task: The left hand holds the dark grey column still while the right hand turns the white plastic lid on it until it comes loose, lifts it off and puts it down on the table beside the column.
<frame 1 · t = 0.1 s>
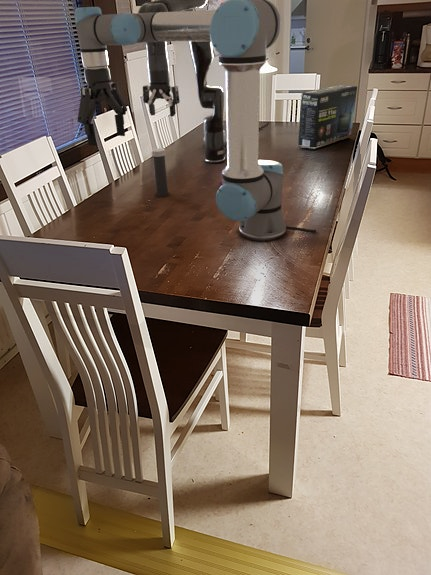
left hand: (162, 115, 174), 29 cm above the table, tool pointing down, fingers open, 8 cm apart
right hand: (107, 140, 148), 28 cm above the table, tool pointing down, fingers open, 13 cm apart
dark grey column: (162, 194, 185), on the table
fossil: (219, 142, 254), on the table
handgun: (235, 188, 187), on the table
router box: (325, 143, 245), on the table
lid: (158, 150, 176), point 17 cm above the table, screwed on, not yet turned
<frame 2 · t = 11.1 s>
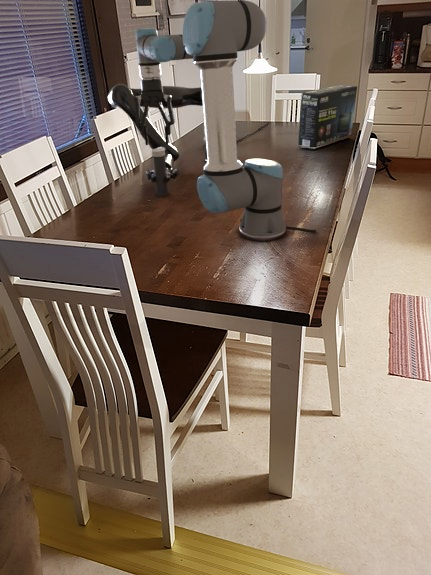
left hand: (160, 180, 179), 7 cm above the table, tool horizontal, fingers closed on dark grey column, 4 cm apart
right hand: (157, 144, 174), 20 cm above the table, tool pointing down, fingers open, 7 cm apart
dark grey column: (162, 194, 185), on the table, touching left hand
everything else where it was.
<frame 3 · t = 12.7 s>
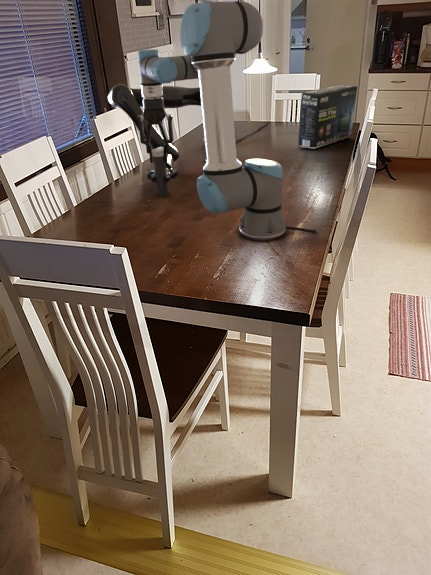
left hand: (160, 180, 179), 7 cm above the table, tool horizontal, fingers closed on dark grey column, 4 cm apart
right hand: (159, 161, 178), 13 cm above the table, tool pointing down, fingers closed on lid, 5 cm apart
dark grey column: (162, 194, 185), on the table, touching left hand
lid: (158, 150, 176), point 17 cm above the table, screwed on, not yet turned, touching right hand
everything else where it was.
when the right hand's fingers open (14 cm above the table, at t = 13.9 s): lid stays where it is, point 18 cm above the table.
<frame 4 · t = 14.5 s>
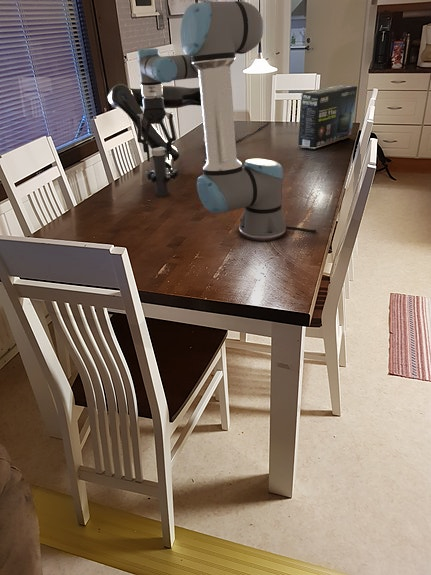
left hand: (160, 180, 179), 7 cm above the table, tool horizontal, fingers closed on dark grey column, 4 cm apart
right hand: (159, 160, 177), 14 cm above the table, tool pointing down, fingers open, 7 cm apart
dark grey column: (162, 194, 185), on the table, touching left hand
lid: (158, 150, 175), point 18 cm above the table, turned 74° so far, risen 0.3 cm, still on its thread
everything else where it was.
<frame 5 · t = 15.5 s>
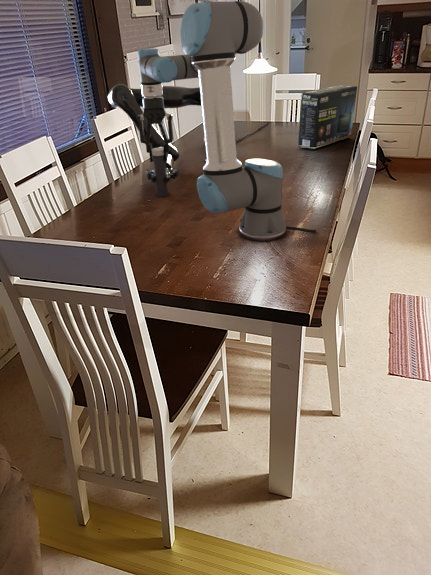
left hand: (160, 180, 179), 7 cm above the table, tool horizontal, fingers closed on dark grey column, 4 cm apart
right hand: (159, 160, 178), 14 cm above the table, tool pointing down, fingers closed on lid, 5 cm apart
dark grey column: (162, 194, 185), on the table, touching left hand
lid: (158, 150, 175), point 18 cm above the table, turned 74° so far, risen 0.3 cm, still on its thread, touching right hand
everything else where it was.
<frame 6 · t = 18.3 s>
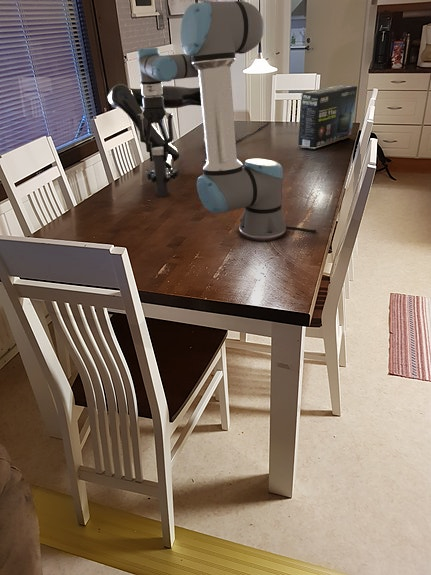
left hand: (160, 180, 179), 7 cm above the table, tool horizontal, fingers closed on dark grey column, 4 cm apart
right hand: (159, 160, 177), 14 cm above the table, tool pointing down, fingers closed on lid, 5 cm apart
dark grey column: (162, 194, 185), on the table, touching left hand
lid: (157, 149, 175), point 18 cm above the table, turned 148° so far, risen 0.5 cm, still on its thread, touching right hand
everything else where it was.
when the right hand's fingers open (0 cm above the table, at t = 25.1 s): lid drops 3 cm, point 2 cm above the table.
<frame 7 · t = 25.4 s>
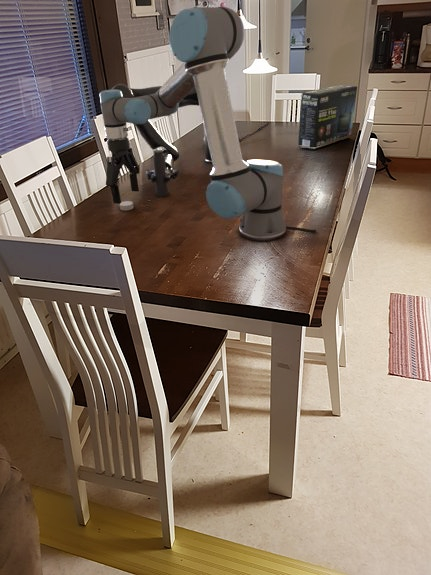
left hand: (160, 180, 179), 7 cm above the table, tool horizontal, fingers closed on dark grey column, 4 cm apart
right hand: (126, 197, 170), 5 cm above the table, tool pointing down, fingers open, 13 cm apart
dark grey column: (162, 194, 185), on the table, touching left hand
lid: (126, 204, 172), point 2 cm above the table, off its thread
everything else where it was.
when the left hand's fingers open (7 cm above the table, at t = 25.7 s): dark grey column stays where it is, on the table.
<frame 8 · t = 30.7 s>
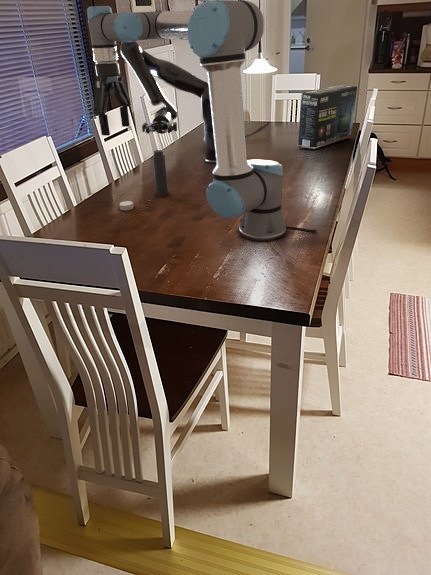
left hand: (158, 130, 183), 22 cm above the table, tool horizontal, fingers open, 8 cm apart
right hand: (116, 130, 158), 28 cm above the table, tool pointing down, fingers open, 13 cm apart
dark grey column: (162, 194, 185), on the table
everything else where it was.
at the end: lid came off its thread; lid point 1.6 cm above the table; the left hand is holding nothing; the right hand is holding nothing; dark grey column tilted 0°; dark grey column moved 0.0 cm from its start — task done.
